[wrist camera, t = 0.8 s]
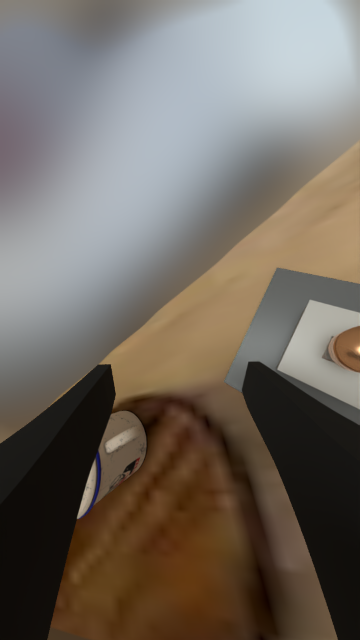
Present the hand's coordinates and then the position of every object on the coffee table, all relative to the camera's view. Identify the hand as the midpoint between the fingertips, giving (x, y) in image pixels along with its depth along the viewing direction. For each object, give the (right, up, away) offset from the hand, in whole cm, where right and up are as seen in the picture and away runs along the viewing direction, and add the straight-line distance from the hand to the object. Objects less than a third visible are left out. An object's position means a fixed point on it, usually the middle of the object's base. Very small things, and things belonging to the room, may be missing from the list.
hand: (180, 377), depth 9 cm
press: (+15, -1, +9) cm, 18 cm away
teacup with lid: (-7, -15, +18) cm, 25 cm away
